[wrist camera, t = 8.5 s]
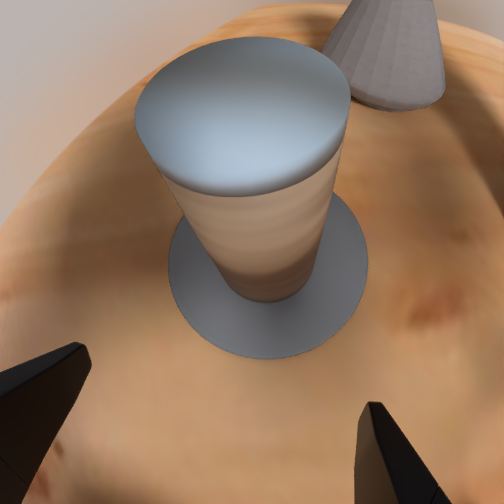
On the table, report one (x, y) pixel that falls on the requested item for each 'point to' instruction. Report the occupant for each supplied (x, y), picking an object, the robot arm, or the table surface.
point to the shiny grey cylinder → (250, 154)
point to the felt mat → (277, 313)
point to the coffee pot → (389, 53)
